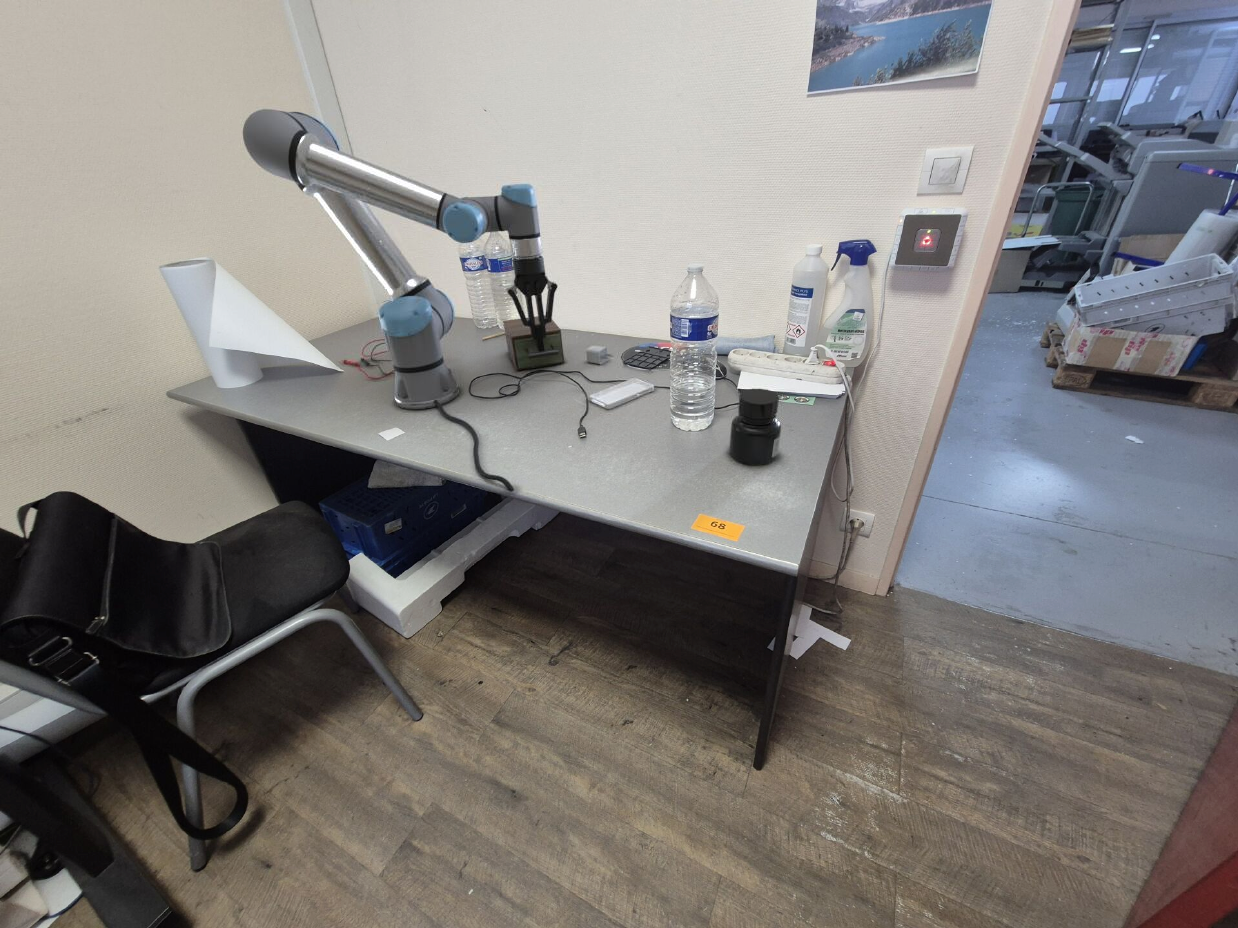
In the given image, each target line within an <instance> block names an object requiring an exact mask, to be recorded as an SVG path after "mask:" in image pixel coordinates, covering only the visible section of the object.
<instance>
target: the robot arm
mask: <svg viewBox="0 0 1238 928" xmlns="http://www.w3.org/2000/svg"><path fill="white" fill-rule="evenodd" d="M242 139H243V143H244V146H245V148H246V151H247V152H248V154H249V156H250V157H251V159H252V160H253V161H254V162H255V163H256V165H258V166H259V167H260V168H261V169H263V170H264V171H266V172H267V173H269V174H272V175H274V176H277V177H280V178H283V179H285V180H288V181H290V182H291V181H292V182H294V183H295V185H297V187H298V188H299V189H300V191H301V192H302V193H303V194H304V195H306V196H309V197H313V198H315V199H316V201H317V202H318V203H319V204H320V205H321V207H322V208H323V209H324V211H325V213H326V214H327V215H328V216H329V217H330V218H331V220H332V222H333V223H334V224H335V225H336V227H337V228H338V229H339V231H340V232H341V233H342V234H343V236H344V237H345V238H346V239H347V241H348V242H349V243H350V245H351V246H352V247H353V249H354V250H355V251H356V253H357V254H358V255H359V257H360V258H361V260H362V261H363V262H364V263H365V265H366V266H367V267H368V268H369V270H370V271H371V272H372V274H373V275H374V276H375V278H376V279H377V280H378V282H379V283H380V284H381V285H382V286H383V288H384V290H386V292H387V293H388V296H387V297H388V298H387V302H385V303H383V304H382V305H381V306H380V308H379V309H378V313H377V314H378V319H379V326H380V329H381V331H382V334H383V339H385V340H384V341H385V344H386V347H387V350H388V351H389V352H388V354H389V357H390V360H392V361H391V363H392V366H393V370H395V371H394V391H393V397H394V400H395V404H396V405H397V406H398V407H399V408H402V409H405V410H426V409H432V408H436V407H437V408H438V410H439V411H440V413H441V414H442V416H443V417H444V418H446V419H448V420H449V421H452V422H455V423H458V424H460V425H462V426H463V427H465V428H466V429H467V430H468V431H469V432H470V434H471V435H472V438H473V451H472V453H473V460H474V461H473V462H474V466H475V467H474V468H475V469H476V471H477V472H478V474H479V475H480V476H481V477H483V479H486V480H491V481H497V482H500V483H502V484H503V485H504V486H505V487H506V489H507V490H508V491H509V492H514V491H515V488H514V486H513V485H512V483H511V482H510V481H509V480H508V479H506V478H505V477H504V476H501V475H496V474H489V473H486V472H485V470H484V469H483V468H482V466H481V462H480V457H479V444H480V443H479V441H480V440H479V435H478V434H477V432H476V431H475V429H474V428H473V427H472V426H471V425H470V424H469V423H467V421H465V420H463V419H461V418H458V417H456V416H452V415H450V414H449V413H447V412H446V410H445V409H444V407H443V406H442V405H446V404H447V403H450V402H452V401H453V400H454V399H456V398H457V397H458V395H459V394H460V390H459V385H458V383H457V381H456V379H455V378H454V376H453V374H452V369H451V368H448V367H447V365H446V363H445V359H444V354H443V350H442V347H441V343H440V341H441V339H443V337H444V336H445V335H447V334H448V333H449V331H450V330H451V329H452V326H453V323H454V321H455V316H456V315H455V314H456V313H455V306H454V305H453V302H452V300H451V298H450V297H449V296H448V295H447V294H446V293H445V292H443V291H442V290H440V289H437V288H436V287H435V286H434V285H433V283H432V282H431V280H430V279H429V278H428V277H426V276H424V275H420V274H418V273H417V272H416V270H415V269H414V267H413V266H412V264H411V263H410V262H409V260H408V259H407V257H406V256H405V255H404V253H403V252H402V250H401V249H400V248H399V246H398V245H397V243H395V241H394V240H393V238H392V237H391V235H390V234H389V232H388V231H387V230H386V227H384V225H383V224H382V223H381V222H380V220H379V219H378V217H377V216H376V214H375V213H374V211H373V210H372V208H370V205H371V206H373V207H376V208H378V209H380V210H384V211H386V212H389V213H392V214H395V215H397V216H399V217H403V218H405V219H408V220H410V221H413V222H415V223H419V224H421V225H424V226H426V227H429V228H431V229H435V230H437V231H439V232H442V233H444V234H446V235H448V237H449V238H450V239H452V240H453V241H455V242H456V243H460V244H468V243H469V244H470V243H473V242H476V241H477V240H479V238H481V237H482V236H483V235H484V234H486V233H495V232H507V234H508V239H509V246H510V253H511V256H512V257H513V259H512V267H513V272H514V273H513V274H514V279H513V284H512V285H511V286H509V287H507V288H506V292H507V294H508V295H509V297H510V298H512V301H513V304H514V306H515V308H516V311H517V313H518V316H519V319H521V321H522V323H523V324H524V326H529V327H530V330H531V336H532V338H533V339H536V344H537V349H538V351H539V352H541V351H545V350H544V343H543V338H545V337H546V328H545V326H546V324H547V323H550V322H551V321H552V320H553V310H554V301H555V293H556V291H557V289H558V284H557V283H556V282H555V281H551V280H549V277H548V276H547V274H546V269H545V260H544V257H543V255H542V254H543V253H544V252H543V245H542V238H541V230H540V220H539V211H538V204H537V200H536V199H537V198H536V193H535V189H534V187H533V186H532V185H531V184H530V183H515V184H505V185H502V186H501V190H500V191H501V193H500V194H498V195H492V196H470V197H469V196H465V197H457V196H455V195H453V194H450V193H447V192H444V191H442V190H440V189H437V188H435V187H433V186H430V185H428V184H425V183H422V182H420V181H417V180H415V179H413V178H410V177H407V176H404V175H402V174H400V173H398V172H395V171H392V170H389V169H387V168H384V167H382V166H379V165H377V164H374V163H372V162H369V161H367V160H364V159H362V158H359V157H357V156H354V155H352V154H349V153H346V152H344V151H342V150H341V147H340V144H339V141H338V139H337V136H336V135H335V134H334V132H333V131H332V130H331V128H329V126H328V125H326V124H325V123H324V122H322V120H320V119H318V118H316V117H315V116H312V115H309V114H307V113H304V112H301V111H284V110H277V109H272V108H271V109H270V108H262V109H259V110H255V111H254V112H252V113H251V114H249V116H248V117H246V120H244V124H243V126H242ZM545 288H546V289H547V294H546V295H547V296H546V305H545V312H544V306H543V305H544V304H543V296H542V294H543V293H544V291H545ZM518 290H519V291H520V292H521V294H522V295H523V296H524V299H525V305H526V311H527V317H526V314H525V312H524V310H523V307H522V305H521V302H520V300H519V298H518V296H517V295H518ZM533 296H534V298H535V304H536V309H537V310H536V312H537V316H538V319H539V324H537V325H535V319H534V317H535V312H534V306H533ZM544 315H545V318H544ZM526 318H528V319H529V320H527V319H526Z"/></svg>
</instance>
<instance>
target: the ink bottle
mask: <svg viewBox="0 0 1238 928" xmlns="http://www.w3.org/2000/svg"><path fill="white" fill-rule="evenodd" d="M779 401H780V397H779V394H778V393H776V392H775V391H772V390H769V389H764V388H749V389H745V390H743V391H741V392H740V394H739V398H738V408H737V409H738V415H736V416H734V418H732V421H731V424H730V436H729V437H730V438H729V453H730V455H731V457H732V458H734V459H735V460H736V461H738V462H740V463H742V464H746V465H751V466H753V465H754V466H755V465H756V466H757V465H766V464H768V463H772V462H773V461H774V460H776V459H777V457H778V453H779V449H780V447H779V446H780V442H781V441H780V440H781V434H782V433H781V432H782V425H781V422H780V421H779V420H778V418H776V417H777V416H778V409H779Z"/></svg>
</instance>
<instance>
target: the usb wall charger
mask: <svg viewBox="0 0 1238 928" xmlns="http://www.w3.org/2000/svg"><path fill="white" fill-rule="evenodd" d="M585 353H586V361H587V363H589V364H590V363H591V364H596V365H603V364H605V363H606V362H607V361H608V360H610V358H613V354H611V353H608V348H607V346H599V345H591V346H589V347H587V348H586V351H585Z"/></svg>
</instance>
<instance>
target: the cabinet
mask: <svg viewBox="0 0 1238 928" xmlns="http://www.w3.org/2000/svg"><path fill="white" fill-rule="evenodd" d="M544 318H545V314H544ZM526 319H527V320H529V319H528V317H526ZM534 319H535V325H537V324H539V319H538V315H537V316H534ZM502 323H503V330H504V335H505V340H506V341H505V342H506V346H507V352H508V355H509V356H510V359H511V361H512V364H513V366H514V368H515V370H516V371H517V372H518V371H525V370H531V369H536V368H542V367H543V368H544V367H548V366H554V365H561V364H565V356H564V348H563V339H562V330H561V328H560V327H559V326H558V324H557V323H556V322H555V321H554V320H553V319H552V321H551V322H550V323H547V324H546V326H545V328H546V335H547V334H554V333H556V334H557V333H559V334H560V340H561V348H562V357H563V362H558V363H551V364H545V365H539V366H533V367H527V368H521V369H519V367H518V361H517V355H516V349H515V343H514V340H515V339H520V338H527V337H532V336H531V330H530V327H529V326H524V324H523V323H522V321H521V318H515V319H507V320H503V321H502Z"/></svg>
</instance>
